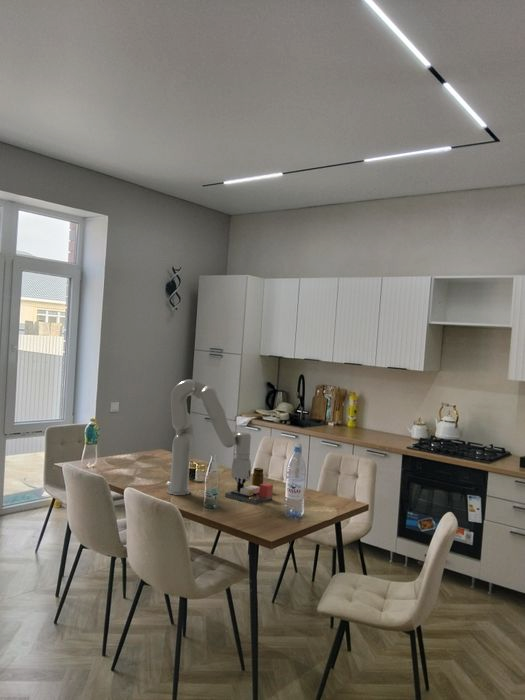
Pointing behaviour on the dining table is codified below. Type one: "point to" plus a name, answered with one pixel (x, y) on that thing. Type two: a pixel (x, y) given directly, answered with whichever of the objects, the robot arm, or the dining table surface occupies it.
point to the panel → (247, 497)
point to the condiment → (257, 477)
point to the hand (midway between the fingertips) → (240, 490)
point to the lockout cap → (265, 490)
